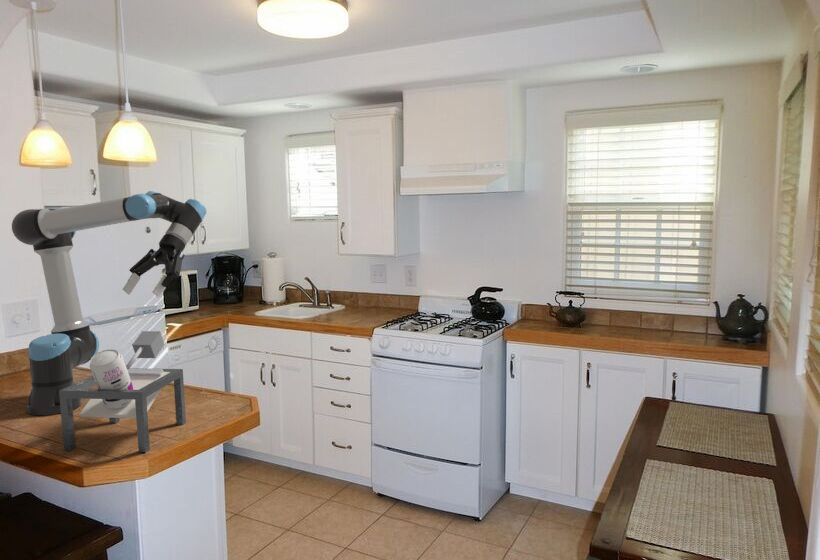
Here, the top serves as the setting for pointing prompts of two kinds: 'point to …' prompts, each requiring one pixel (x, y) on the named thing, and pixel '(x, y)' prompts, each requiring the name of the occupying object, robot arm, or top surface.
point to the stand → (139, 396)
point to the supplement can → (111, 375)
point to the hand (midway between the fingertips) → (140, 293)
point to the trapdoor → (133, 378)
